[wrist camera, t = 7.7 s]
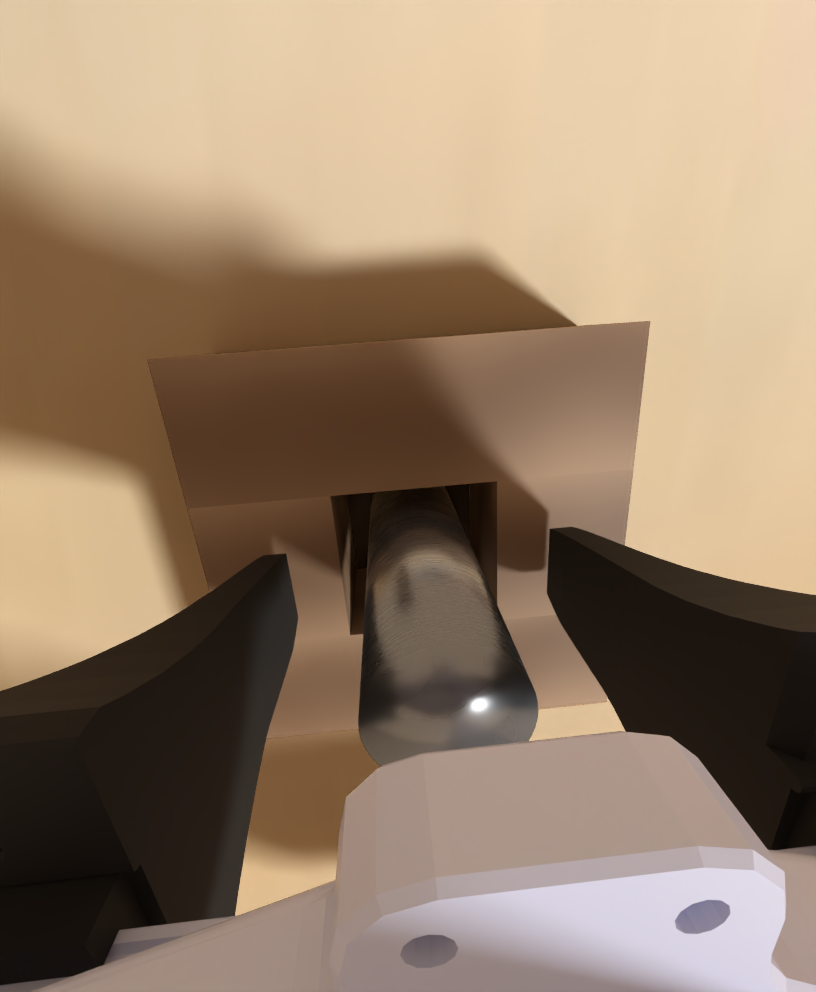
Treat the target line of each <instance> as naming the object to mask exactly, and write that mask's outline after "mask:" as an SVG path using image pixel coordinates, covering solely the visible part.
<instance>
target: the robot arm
mask: <svg viewBox="0 0 816 992" xmlns="http://www.w3.org/2000/svg"><path fill="white" fill-rule="evenodd" d="M547 595H548V597H549V600H550V602H551V604H552V606H553V609H554V611H555V613H556V615H557V617H558V619H559V621H560V623H561V625H562V627H563V628H564V630H565V631H566V633H567V635H568V636H569V638H570V639H571V641H572V642H573V644H574V646H575V647H576V649H577V650H578V652H579V653H580V655H581V656H582V658H583V659H584V661H585V663H586V664H587V666H588V667H589V669H590V670H591V672H592V673H593V675H594V676H595V678H596V679H597V681H598V683H599V684H600V686H601V687H602V689H603V690H604V692H605V694H606V695H607V697H608V699H609V700H610V702H611V704H612V705H613V707H614V709H615V711H616V713H617V715H618V717H619V719H620V721H621V723H622V725H623V727H624V729H625V731H626V732H623V731H618V732H609V733H600V734H591V735H582V736H573V737H564V738H555V739H546V740H537V741H528V742H518V743H509V744H500V745H491V746H482V747H473V748H464V749H455V750H446V751H437V752H428V753H421V754H418V755H415V756H411V757H408V758H405V759H402V760H399V761H395V762H392V763H389V764H386V765H383V766H381V767H379V768H377V769H376V770H375V771H374V772H373V773H372V774H371V775H370V776H368V777H367V778H366V779H365V780H364V781H363V782H362V783H361V784H360V785H359V786H358V787H356V788H355V789H354V790H353V791H352V792H351V793H350V794H349V795H348V796H347V797H346V800H345V805H344V810H343V815H342V820H341V825H340V830H339V843H338V855H337V867H336V880H335V881H332V882H329V883H326V884H324V885H321V886H318V887H315V888H313V889H310V890H307V891H304V892H302V893H299V894H296V895H293V896H291V897H288V898H285V899H283V900H280V901H277V902H274V903H272V904H269V905H266V906H263V907H261V908H258V909H255V910H252V911H250V912H247V913H244V914H241V915H238V916H235V911H236V904H237V896H238V890H239V884H240V877H241V871H242V865H243V859H244V853H245V846H246V840H247V834H248V828H249V823H250V817H251V812H252V806H253V801H254V795H255V790H256V785H257V780H258V775H259V770H260V765H261V760H262V755H263V750H264V745H265V741H266V737H267V734H268V730H269V726H270V723H271V720H272V717H273V713H274V710H275V707H276V704H277V701H278V698H279V694H280V691H281V688H282V685H283V682H284V679H285V675H286V672H287V669H288V666H289V662H290V659H291V656H292V652H293V648H294V642H295V637H296V630H297V623H298V613H297V608H296V602H295V597H294V592H293V587H292V581H291V576H290V571H289V566H288V560H287V555H286V553H284V554H273V555H263V556H261V557H259V558H258V559H256V560H255V561H253V562H252V563H250V564H249V565H247V566H246V567H245V568H243V569H242V570H240V571H239V572H238V573H236V574H235V575H234V576H232V577H231V578H229V579H228V580H227V581H225V582H224V583H222V584H221V585H220V586H218V587H217V588H216V589H214V590H213V591H211V592H210V593H208V594H207V595H205V596H204V597H202V598H201V599H199V600H198V601H196V602H195V603H193V604H192V605H190V606H188V607H187V608H185V609H184V610H182V611H181V612H179V613H178V614H176V615H174V616H173V617H171V618H169V619H167V620H166V621H164V622H162V623H160V624H159V625H157V626H155V627H153V628H151V629H149V630H147V631H146V632H144V633H142V634H140V635H138V636H136V637H134V638H132V639H130V640H128V641H125V642H123V643H121V644H119V645H117V646H115V647H113V648H110V649H108V650H106V651H104V652H102V653H100V654H98V655H95V656H93V657H91V658H89V659H86V660H84V661H81V662H79V663H76V664H74V665H72V666H69V667H67V668H64V669H62V670H59V671H56V672H54V673H51V674H48V675H46V676H43V677H40V678H38V679H35V680H32V681H29V682H27V683H24V684H21V685H18V686H15V687H12V688H9V689H6V690H3V691H0V992H816V595H810V594H803V593H797V592H791V591H785V590H779V589H774V588H769V587H764V586H759V585H754V584H749V583H744V582H740V581H735V580H731V579H727V578H723V577H719V576H715V575H712V574H708V573H704V572H701V571H697V570H693V569H690V568H687V567H683V566H680V565H677V564H674V563H671V562H668V561H665V560H662V559H659V558H656V557H653V556H651V555H648V554H645V553H643V552H640V551H637V550H635V549H632V548H629V547H627V546H624V545H622V544H619V543H617V542H614V541H612V540H609V539H607V538H604V537H601V536H599V535H596V534H594V533H591V532H588V531H585V530H582V529H579V528H575V527H563V528H552V529H550V532H549V553H548V575H547Z"/></svg>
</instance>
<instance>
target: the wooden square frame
mask: <svg viewBox="0 0 816 992" xmlns="http://www.w3.org/2000/svg"><path fill="white" fill-rule="evenodd" d="M649 327H650V321H644V322H629V323H614V324H599V325H584V326H571V327H558V328H545V329H532V330H519V331H506V332H493V333H480V334H467V335H454V336H441V337H428V338H415V339H402V340H389V341H376V342H363V343H350V344H337V345H324V346H311V347H298V348H285V349H272V350H259V351H246V352H233V353H220V354H207V355H196V356H185V357H173V358H162V359H151V360H147V361H148V364H149V368H150V372H151V376H152V379H153V383H154V387H155V390H156V394H157V398H158V402H159V405H160V409H161V413H162V416H163V420H164V424H165V428H166V431H167V435H168V439H169V442H170V446H171V450H172V454H173V457H174V461H175V465H176V468H177V472H178V476H179V480H180V483H181V487H182V491H183V494H184V498H185V502H186V506H187V509H188V513H189V517H190V520H191V524H192V528H193V532H194V535H195V539H196V543H197V546H198V550H199V554H200V557H201V561H202V565H203V569H204V572H205V576H206V580H207V583H208V587H209V591H210V592H211V591H213V590H214V589H216V588H217V587H218V586H220V585H221V584H222V583H224V582H225V581H227V580H228V579H229V578H231V577H232V576H234V575H235V574H236V573H238V572H239V571H240V570H242V569H243V568H245V567H246V566H247V565H249V564H250V563H252V562H253V561H255V560H256V559H258V558H259V557H261V556H263V555H273V554H284V553H286V555H287V560H288V566H289V571H290V576H291V581H292V587H293V592H294V597H295V602H296V608H297V613H298V623H297V630H296V637H295V642H294V648H293V652H292V656H291V659H290V662H289V666H288V669H287V672H286V675H285V679H284V682H283V685H282V688H281V691H280V694H279V698H278V701H277V704H276V707H275V710H274V713H273V717H272V720H271V723H270V726H269V730H268V734H267V737H266V739H268V738H278V737H287V736H296V735H306V734H315V733H324V732H333V731H343V730H352V729H359V727H358V715H359V698H360V681H361V664H362V647H363V629H364V612H365V595H366V578H367V568H362V569H357V568H356V560H355V552H354V544H353V537H352V529H351V521H350V513H349V506H348V498H347V495H348V494H359V493H370V492H382V491H393V490H404V489H415V488H427V487H438V486H449V485H460V484H469V491H470V533H471V546H472V549H473V551H474V553H475V556H476V558H477V560H478V562H479V565H480V567H481V569H482V571H483V574H484V576H485V578H486V581H487V583H488V585H489V587H490V590H491V592H492V594H493V596H494V599H495V601H496V603H497V606H498V608H499V610H500V612H501V615H502V617H503V619H504V621H505V624H506V626H507V628H508V631H509V633H510V635H511V637H512V640H513V642H514V644H515V646H516V649H517V651H518V653H519V656H520V658H521V660H522V662H523V665H524V667H525V669H526V671H527V674H528V676H529V678H530V681H531V683H532V685H533V687H534V690H535V692H536V696H537V700H538V709H547V708H556V707H566V706H575V705H584V704H593V703H603V702H607V695H606V694H605V692H604V690H603V689H602V687H601V686H600V684H599V683H598V681H597V679H596V678H595V676H594V675H593V673H592V672H591V670H590V669H589V667H588V666H587V664H586V663H585V661H584V659H583V658H582V656H581V655H580V653H579V652H578V650H577V649H576V647H575V646H574V644H573V642H572V641H571V639H570V638H569V636H568V635H567V633H566V631H565V630H564V628H563V627H562V625H561V623H560V621H559V619H558V617H557V615H556V613H555V611H554V609H553V606H552V604H551V602H550V600H549V597H548V595H547V575H548V553H549V532H550V529H552V528H563V527H575V528H579V529H582V530H585V531H588V532H591V533H594V534H596V535H599V536H601V537H604V538H607V539H609V540H612V541H614V542H617V543H619V544H622V545H624V546H625V537H626V528H627V520H628V511H629V502H630V493H631V485H632V476H633V467H634V458H635V450H636V441H637V432H638V423H639V415H640V406H641V397H642V388H643V380H644V371H645V362H646V353H647V345H648V336H649Z"/></svg>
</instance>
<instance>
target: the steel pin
mask: <svg viewBox="0 0 816 992" xmlns="http://www.w3.org/2000/svg"><path fill="white" fill-rule="evenodd" d="M537 718H538V700H537V696H536V692H535V690H534V687H533V685H532V683H531V681H530V678H529V676H528V674H527V671H526V669H525V667H524V665H523V662H522V660H521V658H520V656H519V653H518V651H517V649H516V646H515V644H514V642H513V640H512V637H511V635H510V633H509V631H508V628H507V626H506V624H505V621H504V619H503V617H502V615H501V612H500V610H499V608H498V606H497V603H496V601H495V599H494V596H493V594H492V592H491V590H490V587H489V585H488V583H487V581H486V578H485V576H484V574H483V571H482V569H481V567H480V565H479V562H478V560H477V558H476V556H475V553H474V551H473V549H472V546H471V544H470V542H469V540H468V537H467V535H466V533H465V531H464V528H463V526H462V524H461V521H460V519H459V517H458V515H457V512H456V510H455V508H454V506H453V503H452V501H451V499H450V496H449V494H448V492H447V490H446V488H445V487H444V486H438V487H427V488H415V489H404V490H393V491H382V492H375V493H374V495H373V497H372V501H371V510H370V527H369V544H368V561H367V578H366V595H365V612H364V629H363V647H362V664H361V681H360V698H359V715H358V727H359V734H360V738H361V741H362V743H363V745H364V747H365V749H366V751H367V752H368V754H369V755H370V756H371V757H372V759H373V760H374V761H375V762H376V763H377V764H379V765H380V766H383V765H386V764H389V763H392V762H395V761H399V760H402V759H405V758H408V757H411V756H415V755H418V754H421V753H428V752H437V751H446V750H455V749H464V748H473V747H482V746H491V745H500V744H509V743H518V742H528V741H529V739H530V737H531V736H532V733H533V731H534V729H535V726H536V722H537Z"/></svg>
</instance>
